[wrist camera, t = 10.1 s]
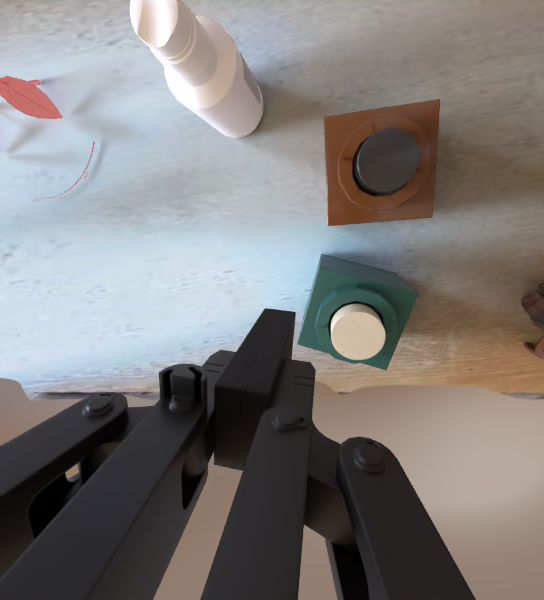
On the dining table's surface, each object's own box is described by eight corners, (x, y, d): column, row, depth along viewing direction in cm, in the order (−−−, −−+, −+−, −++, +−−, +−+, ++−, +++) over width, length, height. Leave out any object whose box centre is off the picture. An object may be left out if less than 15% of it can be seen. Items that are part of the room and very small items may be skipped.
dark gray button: (412, 131, 25) (421, 123, 22) (409, 190, 26) (417, 188, 24) (354, 139, 26) (357, 132, 23) (354, 196, 27) (357, 194, 25)
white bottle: (268, 77, 34) (208, -58, 17) (260, 142, 36) (200, 80, 19) (213, 72, 35) (103, -63, 18) (208, 135, 37) (107, 70, 20)
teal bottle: (395, 273, 38) (425, 299, 26) (372, 333, 41) (390, 380, 29) (321, 253, 39) (318, 271, 27) (304, 314, 42) (295, 352, 30)
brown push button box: (414, 124, 33) (449, 89, 23) (410, 216, 35) (440, 217, 26) (324, 137, 35) (323, 109, 25) (327, 223, 37) (327, 226, 28)
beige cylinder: (387, 311, 28) (393, 320, 25) (371, 353, 29) (375, 366, 27) (338, 297, 28) (339, 305, 26) (325, 340, 30) (324, 351, 27)
